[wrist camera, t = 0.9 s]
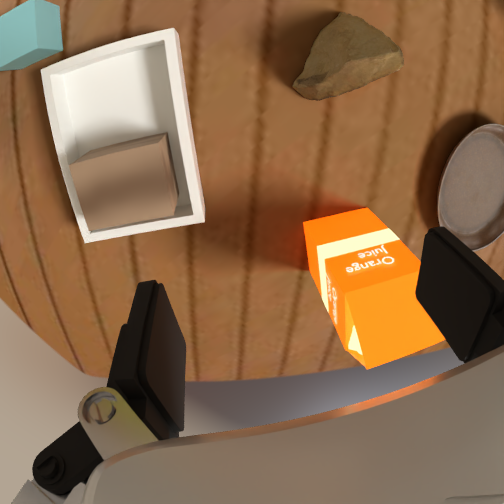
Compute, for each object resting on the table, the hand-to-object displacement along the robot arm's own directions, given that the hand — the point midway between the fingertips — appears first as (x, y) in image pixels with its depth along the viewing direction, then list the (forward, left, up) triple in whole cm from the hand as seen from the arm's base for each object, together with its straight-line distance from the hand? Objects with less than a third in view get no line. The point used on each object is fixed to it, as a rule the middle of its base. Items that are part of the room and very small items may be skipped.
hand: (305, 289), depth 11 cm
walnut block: (+1, -12, -25) cm, 28 cm away
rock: (-9, +10, -26) cm, 29 cm away
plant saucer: (+8, +35, -26) cm, 45 cm away
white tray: (-3, -12, -26) cm, 29 cm away
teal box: (-18, -21, -26) cm, 38 cm away
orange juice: (+14, +11, -26) cm, 32 cm away
